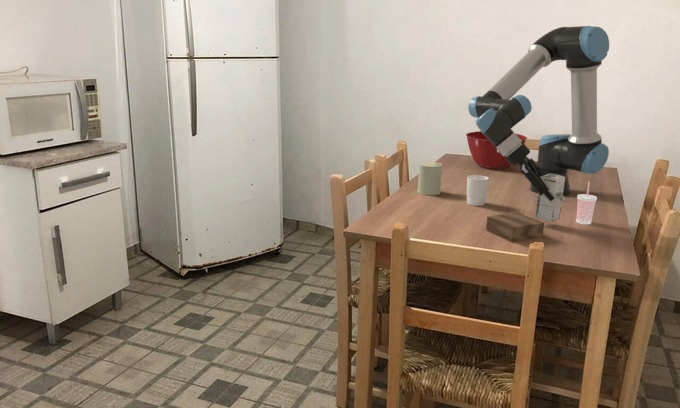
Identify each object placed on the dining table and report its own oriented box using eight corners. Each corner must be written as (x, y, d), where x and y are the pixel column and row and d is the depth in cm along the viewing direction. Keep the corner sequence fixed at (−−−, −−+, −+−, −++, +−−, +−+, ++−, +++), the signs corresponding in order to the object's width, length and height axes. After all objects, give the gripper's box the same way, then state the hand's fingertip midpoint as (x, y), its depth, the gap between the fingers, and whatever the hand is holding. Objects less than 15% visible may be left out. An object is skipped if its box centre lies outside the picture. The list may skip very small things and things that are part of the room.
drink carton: (543, 215, 186) (548, 172, 182) (560, 219, 182) (565, 176, 178) (534, 218, 182) (539, 175, 178) (552, 222, 178) (557, 178, 174)
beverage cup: (581, 218, 190) (586, 178, 186) (597, 223, 185) (603, 182, 181) (569, 221, 187) (575, 181, 183) (586, 226, 182) (591, 184, 178)
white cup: (482, 207, 202) (485, 180, 199) (462, 204, 206) (464, 178, 203) (489, 202, 208) (491, 176, 206) (469, 199, 212) (471, 174, 210)
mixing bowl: (531, 173, 259) (535, 140, 255) (470, 172, 259) (473, 139, 255) (514, 161, 286) (517, 131, 282) (458, 160, 287) (460, 130, 282)
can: (440, 196, 217) (442, 165, 214) (416, 194, 219) (418, 164, 216) (440, 190, 226) (442, 161, 223) (418, 188, 228) (419, 160, 224)
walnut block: (515, 227, 181) (517, 212, 180) (542, 238, 171) (544, 222, 170) (486, 231, 177) (487, 216, 175) (511, 243, 166) (513, 227, 165)
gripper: (509, 152, 191) (554, 203, 189) (499, 163, 174) (548, 219, 172) (527, 138, 188) (573, 189, 186) (518, 147, 171) (568, 204, 168)
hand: (560, 203), depth 179 cm, fingers closed on drink carton, 7 cm apart
